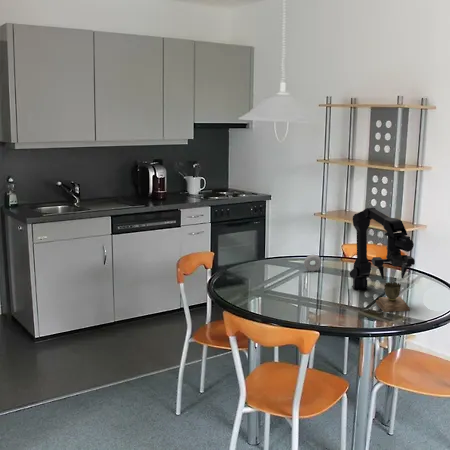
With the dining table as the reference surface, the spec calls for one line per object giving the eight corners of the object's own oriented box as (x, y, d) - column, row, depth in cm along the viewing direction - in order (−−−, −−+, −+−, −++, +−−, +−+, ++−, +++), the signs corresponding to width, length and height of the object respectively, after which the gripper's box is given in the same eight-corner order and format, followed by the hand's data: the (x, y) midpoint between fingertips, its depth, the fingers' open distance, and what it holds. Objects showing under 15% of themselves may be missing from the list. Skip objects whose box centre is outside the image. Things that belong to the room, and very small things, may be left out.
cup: (388, 296, 276) (388, 280, 274) (402, 299, 271) (403, 283, 270) (381, 301, 270) (381, 285, 269) (396, 304, 266) (396, 287, 264)
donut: (305, 272, 328) (304, 255, 326) (303, 271, 331) (303, 254, 329) (322, 271, 329) (322, 254, 327) (320, 269, 333) (320, 253, 330)
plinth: (383, 311, 265) (383, 305, 265) (375, 302, 277) (376, 296, 277) (409, 310, 266) (409, 304, 265) (400, 301, 278) (400, 295, 277)
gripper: (378, 252, 261) (377, 284, 265) (419, 250, 261) (418, 283, 265) (371, 245, 272) (371, 277, 275) (411, 243, 272) (409, 275, 276)
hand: (392, 278), depth 273 cm, fingers open, 9 cm apart
